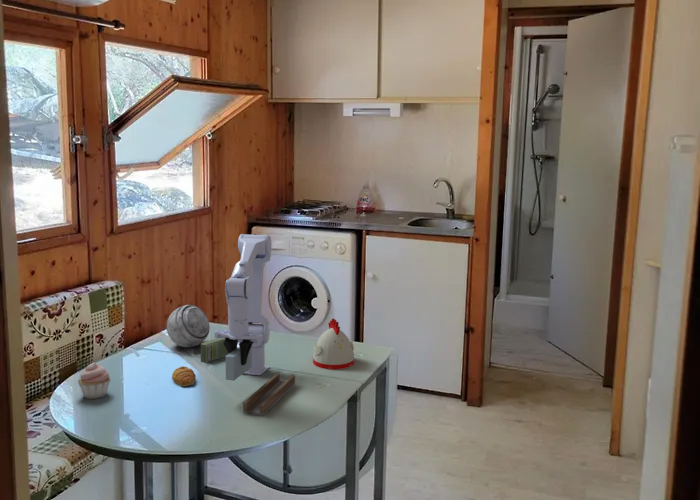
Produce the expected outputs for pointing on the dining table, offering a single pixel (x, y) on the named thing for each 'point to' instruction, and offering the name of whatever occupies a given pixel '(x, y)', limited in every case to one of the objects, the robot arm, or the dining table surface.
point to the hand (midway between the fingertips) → (239, 363)
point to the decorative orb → (188, 326)
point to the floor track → (268, 395)
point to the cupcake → (94, 381)
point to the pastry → (183, 376)
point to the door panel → (236, 364)
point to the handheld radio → (213, 350)
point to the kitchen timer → (333, 349)
